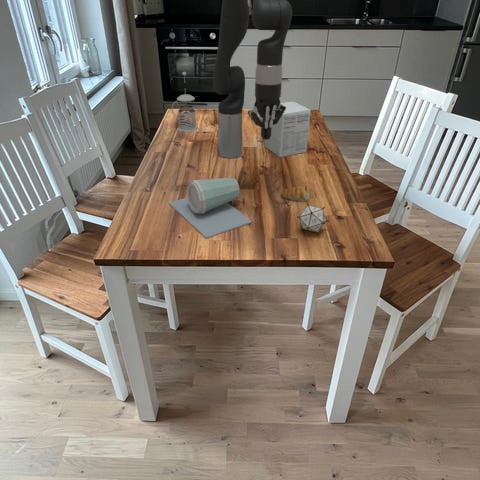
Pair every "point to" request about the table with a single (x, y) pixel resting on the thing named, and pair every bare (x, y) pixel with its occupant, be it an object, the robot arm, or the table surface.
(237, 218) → the mat
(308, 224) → the game die
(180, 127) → the french press
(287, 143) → the supplement box
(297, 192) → the pastry
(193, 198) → the disposable coffee cup
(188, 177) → the table surface
